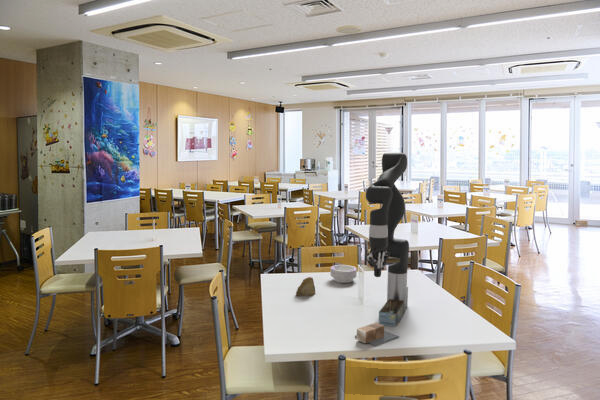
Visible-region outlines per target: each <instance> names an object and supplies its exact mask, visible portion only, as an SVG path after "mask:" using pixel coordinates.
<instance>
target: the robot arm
mask: <svg viewBox="0 0 600 400" xmlns="http://www.w3.org/2000/svg"><path fill="white" fill-rule="evenodd" d="M407 169H408V157H407V155H406V153H404V152H385V153H383V154H382V157H381V170H382V173H381V174H380V175H379V177H378V178H377V180H376V181H374V182H373V183H371V184H370V185H369V186H368V188H367V189H366V191H365V199H366V201H367V202H368V203H369V204H374V205H375V204H377V205H381V208H376V209H372V210H370V212H369V213H370V214H369V227H368V246H369V247H370V250H369V254H368V255H365V260H366V262H367V263H368V265H369V266H370V267H371V268H373V277H374V278H375V277H376V278H380V277H381V276H382V268H383V266H386V264H387V262H388V260H389V258H393V259H394V258H395V259H399V261H397V262H395V263H391V264H389V265H388V267H387V289H386V290H387V292H386V293H387V295H386V302H387V301H388V300H389V299H393V300H401V301H404V309H406V308H407V306H408V300H409V299H408V298H409V296H408V295H409V286H408V267H409V253H410V243H409V241H408V240H407V239H402V238H395V237H394V235H395V231H396V229H397V227H398V225H399V224H400V223H401V221H402V219H403V217H404V215H405V213H406V212H405V198H404V196H403V194H402V193H401V192H400V190H399V188H397V186H396V185H395V183H396V182H397V180H398V179H399V178H400V177H401V176H402V175H403V174H404V173H405V172H406V170H407Z"/></svg>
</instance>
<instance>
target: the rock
mask: <svg viewBox="0 0 600 400" xmlns="http://www.w3.org/2000/svg"><path fill="white" fill-rule="evenodd" d="M315 295H316V286H315V281H314V279H313V277H310V276H309V277H308V276H307V278H304V279H302V282H301V283H300V285H299V286H298V287H297V290H296V292H295V296H297V297H304V296H306V297H307V296H315Z"/></svg>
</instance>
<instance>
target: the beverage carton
mask: <svg viewBox="0 0 600 400" xmlns="http://www.w3.org/2000/svg"><path fill="white" fill-rule="evenodd" d="M404 314H405V308H404V301H401V300H393V299H389V300H388V301H387V300H386V302H385V303H384V305H383V306H382V308H380V310H379V311H378V324H381V325H384V326H387V327H395V326H396V327H397V325H398V324H399V322H400V321H401V319H402V317H403V315H404Z"/></svg>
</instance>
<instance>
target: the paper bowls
mask: <svg viewBox="0 0 600 400" xmlns="http://www.w3.org/2000/svg"><path fill="white" fill-rule="evenodd" d="M357 270H358V269H357V267H356V266H352V265H348V264H336V265H335V264H334V265H332V266H330V277H332V278H333V279H334V281H335V282H337V283H341V284H348V283H351V282H353V280H354V279H356V277H357Z"/></svg>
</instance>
